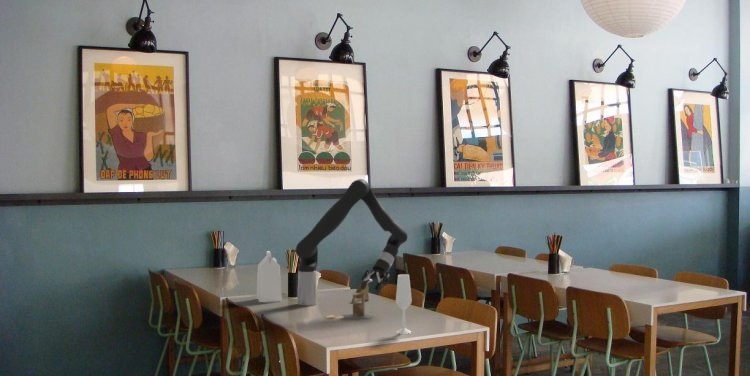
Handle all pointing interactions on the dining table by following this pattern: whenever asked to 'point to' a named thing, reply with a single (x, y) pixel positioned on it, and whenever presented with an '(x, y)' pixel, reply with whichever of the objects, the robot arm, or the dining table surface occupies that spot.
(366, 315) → the blue-gray tile
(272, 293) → the milk
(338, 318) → the coaster
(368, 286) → the rock
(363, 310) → the walnut block
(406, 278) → the champagne flute
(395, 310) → the dining table surface
